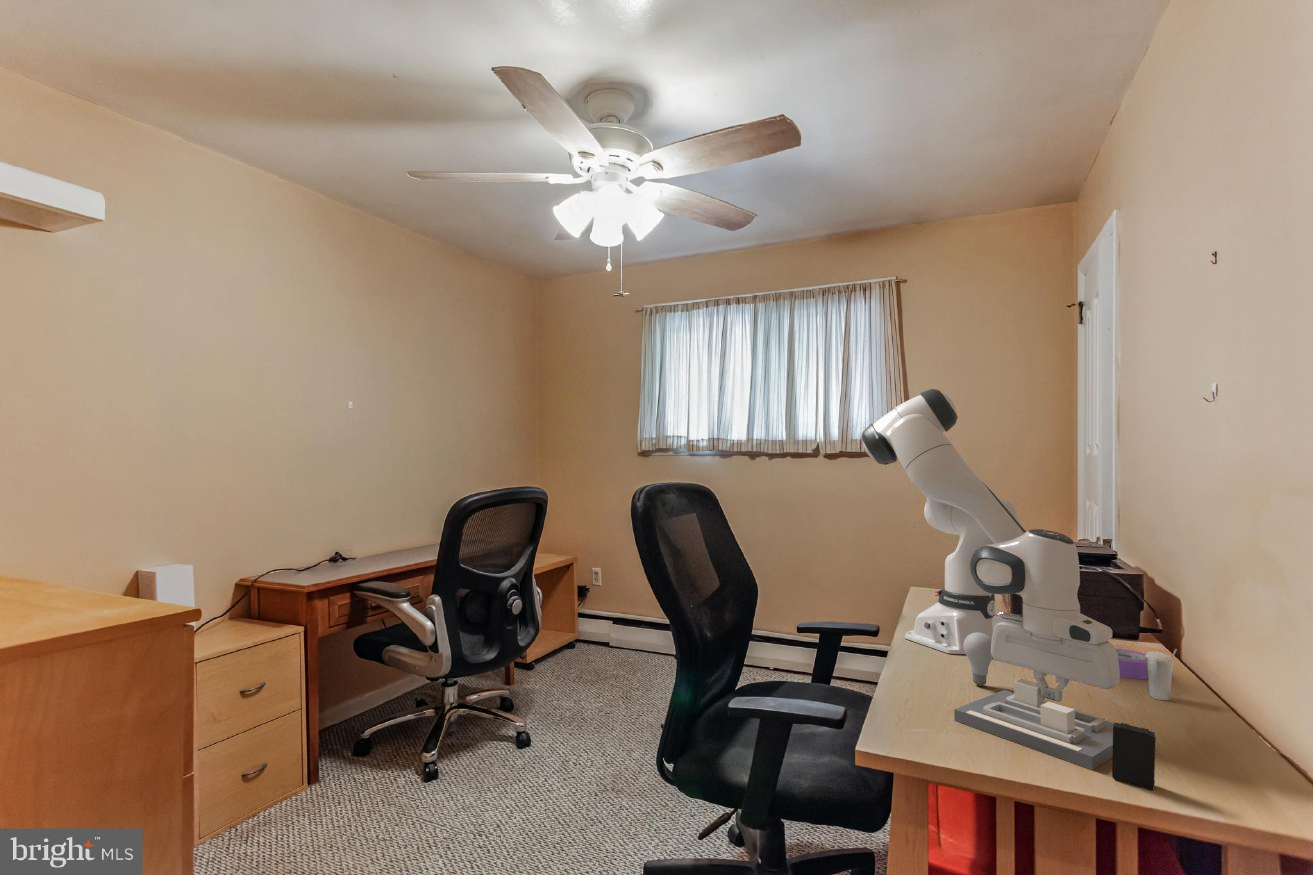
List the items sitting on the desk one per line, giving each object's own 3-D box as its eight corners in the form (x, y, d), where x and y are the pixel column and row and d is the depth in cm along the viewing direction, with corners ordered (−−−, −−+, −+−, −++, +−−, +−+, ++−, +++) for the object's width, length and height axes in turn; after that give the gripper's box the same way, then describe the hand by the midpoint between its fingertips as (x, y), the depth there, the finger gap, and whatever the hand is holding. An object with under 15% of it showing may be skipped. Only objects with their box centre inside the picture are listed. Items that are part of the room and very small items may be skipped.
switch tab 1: (1014, 703, 118) (1014, 682, 118) (1021, 700, 120) (1021, 679, 120) (1037, 711, 115) (1036, 688, 115) (1044, 707, 116) (1044, 685, 116)
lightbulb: (960, 679, 137) (960, 628, 138) (990, 682, 136) (990, 630, 136) (967, 689, 131) (967, 635, 132) (1000, 692, 130) (1000, 637, 130)
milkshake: (1184, 703, 126) (1183, 652, 126) (1153, 700, 127) (1152, 650, 127) (1170, 695, 130) (1169, 645, 131) (1140, 692, 131) (1140, 643, 132)
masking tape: (1081, 665, 150) (1081, 648, 150) (1119, 661, 153) (1118, 645, 153) (1131, 682, 138) (1131, 664, 138) (1170, 678, 142) (1170, 660, 142)
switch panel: (954, 720, 115) (954, 703, 115) (1004, 700, 126) (1004, 684, 126) (1092, 770, 97) (1092, 750, 97) (1137, 741, 108) (1136, 723, 108)
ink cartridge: (1154, 785, 93) (1156, 730, 93) (1154, 791, 91) (1155, 735, 92) (1113, 773, 96) (1114, 720, 96) (1111, 779, 95) (1113, 725, 95)
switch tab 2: (1040, 729, 107) (1040, 705, 107) (1048, 725, 108) (1048, 701, 109) (1066, 738, 103) (1066, 713, 104) (1074, 733, 105) (1074, 709, 105)
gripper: (984, 611, 121) (984, 684, 121) (1108, 637, 105) (1109, 722, 104) (1000, 607, 125) (1000, 678, 125) (1123, 631, 108) (1124, 713, 108)
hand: (1051, 698), depth 114 cm, fingers closed
